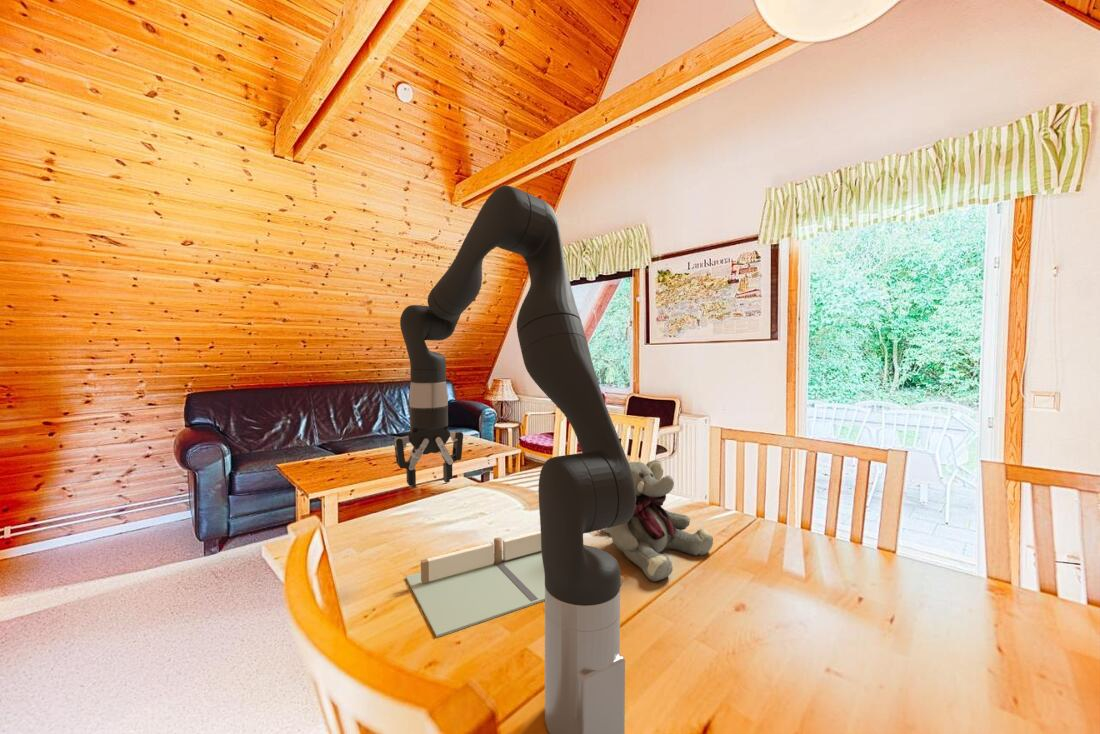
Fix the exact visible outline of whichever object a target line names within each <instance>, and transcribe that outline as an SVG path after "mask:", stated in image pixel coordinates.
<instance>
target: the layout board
mask: <svg viewBox="0 0 1100 734" xmlns="http://www.w3.org/2000/svg"><path fill="white" fill-rule="evenodd" d="M405 580H406V581H407V584H408V585H409V587H410V589H411V591H412V592H413V595H414V596H415V598H416V600H417V602H418V605H419V606H420V608H421V610H422V612H423V614H424V616H425V618H426V620H427V622H428V623H429V626H430V627H431V629H432V631H433V633H434V636H435V637H436V638H440V637H442V636H446V635H449V634H451V633H454V632H457V631H460V630H463V629H466V628H469V627H472V626H475V625H478V624H480V623H484V622H486V621H489V620H492V619H495V618H498V617H501V616H503V615H507V614H510V613H513V612H517V611H519V610H521V609H525V608H528V607H530V606H533V605H536V604H538V603H542V602H545V573H544V566H543V559H542V552H541V551H538V552H534V553H531V554H527V555H524V556H520V557H516V558H513V559H509V560H504V559H503V550H502V563H501V564H495V563H494V564H491V565H487V566H484V567H480V568H476V569H473V570H469V571H465V572H462V573H458V574H454V575H451V576H447V577H444V578H440V579H436V580H433V581H429V582H425V583H422V581H421V571H420V572H416V573H413V574H408V575H405Z"/></svg>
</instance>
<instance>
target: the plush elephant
mask: <svg viewBox="0 0 1100 734" xmlns="http://www.w3.org/2000/svg"><path fill="white" fill-rule="evenodd" d="M628 463H629V466H630V469H631V472H632V476H633V480H634V484H635V491H636V508H635V511H634V514H633V516H632V518H631V519H630V520H629V521H628V522H627V523H624V524H622V525H619V526H614V527H610V528H606V529H602V530H601V532H602V533H607V534H609V535H610V537H611V539H612V542H613V544H614V545H615V546H616V548H617V550H619V551H621V552H622V553H624V556H625V557H626V558H628V559H629V560H630V561H631V562H632V563H633V564H635V565H636V566H637V567H638V568H640V569H641V570H642V572H643V573H644V575H645V576H646V577H647V579H648V580H649V581H652V582H657V581H661V580H664V579H666V578H667V577H668V576H670V575H671V574H672V572H673V562H672V560H671V559H670V558H669V557H668V556H667V555H666V554H663V553H661V552H663V551H664V550H668V549H669V550H675V551H678V552H682V553H685V554H688V555H691V556H694V555H695V556H705V555H706V554H708V553H709V552H710V550H711V549H712V547H713V544H714V542H713V541H714V538H713V536H712V534H711V533H710V532H709V531H708V530H706V529H704V528H700V529H698V530H696V531H695V532H694V533H689V532H688V531H684V530H686V529H687V528H688V526H690V522H691V519H690V517H689V516H688V515H686V514H681V513H676V512H671V511H668V510H667V509H665V508H664V507H662V506H663V504H664V503H665V501H666V499H667V495H668V494H669V493H670V492H672V491H673V489H674V486H675V481H674V478H673V477H672V476H671V475H668V474H667V475H664V473H665V472H664V468H663V466H662V465H661V464H662V463H661V461H660V460H658V459H655V460H654V459H653V460H651V461H648V462H647V463H646V464H645V463H643V462H642V461H628ZM698 554H699V555H698ZM704 554H705V555H704Z"/></svg>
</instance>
